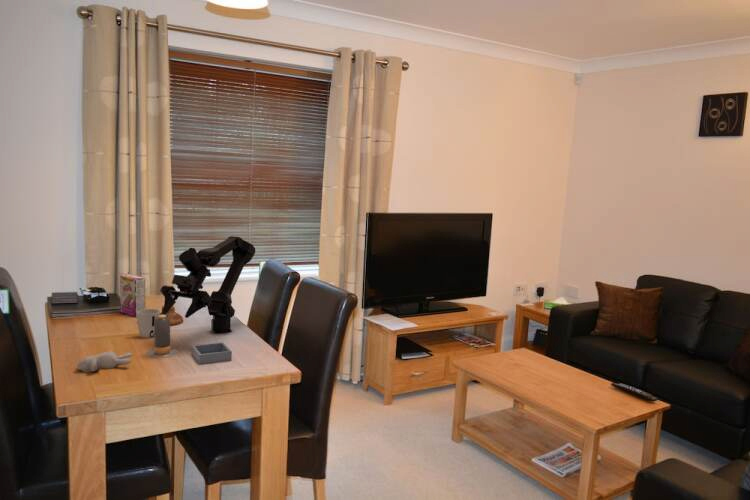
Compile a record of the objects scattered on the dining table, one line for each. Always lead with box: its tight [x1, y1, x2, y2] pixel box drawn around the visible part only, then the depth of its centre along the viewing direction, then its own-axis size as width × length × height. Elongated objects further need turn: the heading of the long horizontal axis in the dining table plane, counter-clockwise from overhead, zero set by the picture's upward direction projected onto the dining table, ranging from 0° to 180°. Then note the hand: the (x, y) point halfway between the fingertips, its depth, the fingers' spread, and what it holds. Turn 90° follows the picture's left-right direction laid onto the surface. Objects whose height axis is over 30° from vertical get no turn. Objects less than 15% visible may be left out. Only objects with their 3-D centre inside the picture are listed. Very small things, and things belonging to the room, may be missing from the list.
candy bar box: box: [119, 273, 146, 318], centre depth 239 cm, size 11×5×16 cm, turn 58°
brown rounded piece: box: [160, 304, 184, 327], centre depth 230 cm, size 12×12×7 cm
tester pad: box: [145, 348, 179, 359], centre depth 191 cm, size 10×10×1 cm
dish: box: [191, 341, 233, 365], centre depth 190 cm, size 11×11×4 cm
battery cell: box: [153, 315, 171, 355], centre depth 190 cm, size 5×5×13 cm
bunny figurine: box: [77, 350, 133, 373], centre depth 177 cm, size 10×5×15 cm
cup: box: [136, 308, 161, 339], centre depth 209 cm, size 8×8×10 cm
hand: (174, 315), depth 195 cm, fingers open, 9 cm apart
